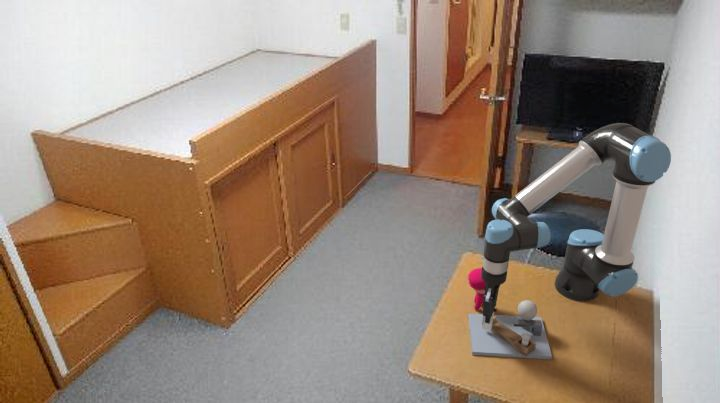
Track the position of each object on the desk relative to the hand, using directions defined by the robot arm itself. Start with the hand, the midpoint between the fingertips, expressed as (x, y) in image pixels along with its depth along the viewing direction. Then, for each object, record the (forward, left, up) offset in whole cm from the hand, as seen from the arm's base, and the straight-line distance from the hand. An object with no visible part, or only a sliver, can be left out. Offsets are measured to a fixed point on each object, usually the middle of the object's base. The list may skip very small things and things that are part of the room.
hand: (487, 328), depth 176 cm
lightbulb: (-13, -3, -3) cm, 13 cm away
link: (-6, +2, -1) cm, 7 cm away
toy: (+2, -14, -3) cm, 14 cm away
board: (-7, 0, -3) cm, 7 cm away
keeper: (-13, -1, -3) cm, 13 cm away
